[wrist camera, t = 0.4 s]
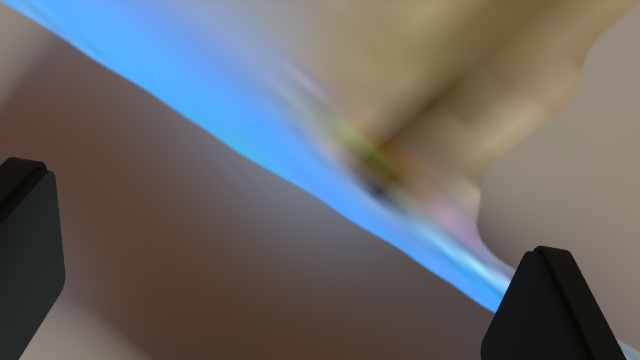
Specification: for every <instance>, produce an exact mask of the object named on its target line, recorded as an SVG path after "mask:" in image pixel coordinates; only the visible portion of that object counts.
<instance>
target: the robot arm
mask: <svg viewBox="0 0 640 360" xmlns="http://www.w3.org/2000/svg"><path fill="white" fill-rule="evenodd" d="M64 282H65V267H64V256H63V247H62V237H61V228H60V217H59V208H58V198H57V188H56V178H55V174H54V173H53V172H52V171H48V170H47V167H46V165H45V164H44V163H43V162H39V161H33V160H28V159H21V158H16V157H11V158H8V159H7V160H6V161H5V162H4V163H2V164H1V166H0V360H19V358H20V357H21V355H22V354H23V352H24V350H25V349H26V347H27V346H28V344H29V342H30V341H31V339H32V338H33V336H34V334H35V333H36V331H37V330H38V328H39V327H40V325H41V323H42V322H43V320H44V319H45V317H46V315H47V313H48V312H49V311H50V309H51V308H52V306H53V304H54V303H55V301H56V300H57V298H58V296H59V295H60V293H61V291H62V289H63V286H64ZM481 360H627V359H626V358H625V356H624V354H623V352H622V350H621V348H620V346H619V344H618V342H617V340H616V338H615V336H614V335H613V333H612V331H611V329H610V327H609V325H608V323H607V321H606V319H605V317H604V315H603V314H602V312H601V310H600V308H599V306H598V304H597V302H596V300H595V298H594V296H593V294H592V293H591V291H590V289H589V287H588V285H587V283H586V281H585V279H584V277H583V275H582V273H581V271H580V269H579V267H578V266H577V264H576V262H575V260H574V258H573V256H572V254H571V253H570V252H569V251H567V250H563V249H558V248H552V247H546V246H537V247H536V248H535V249H534V250H533V252H532V251H527V252H526V253H525V254H524V256H523V258H522V260H521V262H520V264H519V266H518V268H517V270H516V272H515V274H514V276H513V278H512V280H511V283H510V285H509V287H508V289H507V291H506V293H505V295H504V297H503V299H502V301H501V303H500V305H499V307H498V310H497V312H496V314H495V316H494V318H493V320H492V322H491V324H490V326H489V329H488V331H487V333H486V335H485V337H484V339H483V341H482V345H481Z"/></svg>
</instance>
